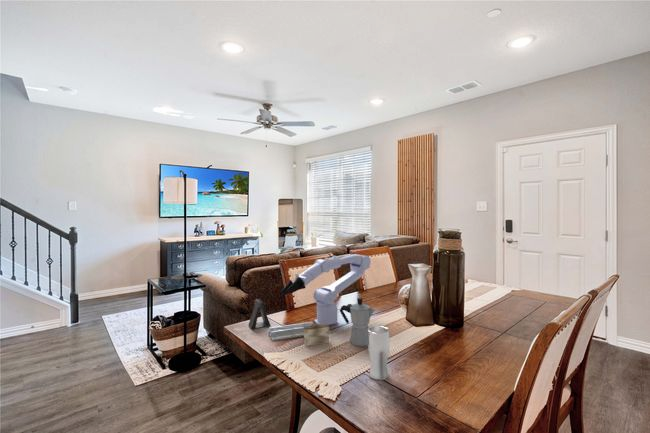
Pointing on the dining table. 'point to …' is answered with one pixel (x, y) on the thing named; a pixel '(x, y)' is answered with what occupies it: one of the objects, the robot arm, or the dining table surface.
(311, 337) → the door panel
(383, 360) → the beer glass
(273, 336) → the track
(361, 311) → the coffee maker
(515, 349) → the dining table surface
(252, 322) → the phone stand
